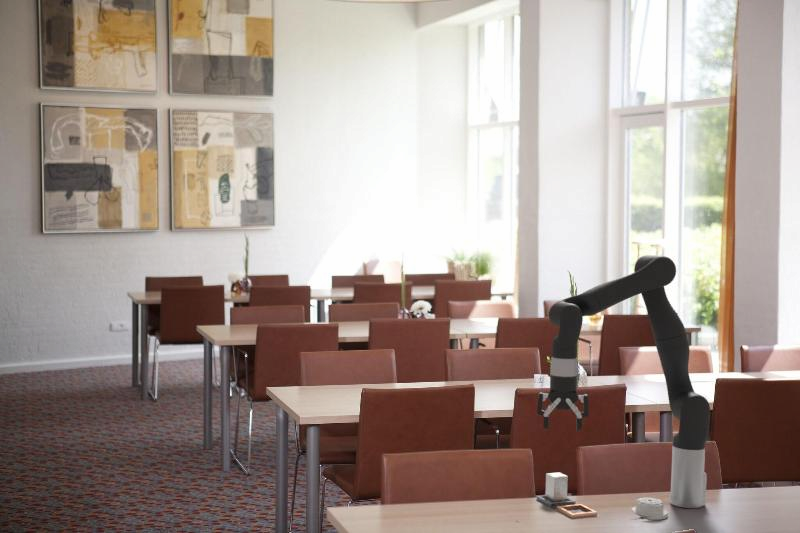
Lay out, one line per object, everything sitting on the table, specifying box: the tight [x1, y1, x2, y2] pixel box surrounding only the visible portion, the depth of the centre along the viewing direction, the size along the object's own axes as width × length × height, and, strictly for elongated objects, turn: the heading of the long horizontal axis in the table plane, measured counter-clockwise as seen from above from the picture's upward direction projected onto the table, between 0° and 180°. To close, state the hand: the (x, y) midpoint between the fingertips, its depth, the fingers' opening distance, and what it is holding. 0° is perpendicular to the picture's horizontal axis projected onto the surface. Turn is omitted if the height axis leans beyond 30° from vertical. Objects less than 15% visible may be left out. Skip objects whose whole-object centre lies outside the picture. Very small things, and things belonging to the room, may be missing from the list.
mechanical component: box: [631, 496, 669, 521], centre depth 289 cm, size 10×4×10 cm
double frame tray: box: [535, 494, 601, 521], centre depth 291 cm, size 9×20×2 cm, turn 23°
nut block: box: [544, 471, 569, 503], centre depth 296 cm, size 4×4×8 cm
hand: (562, 430), depth 288 cm, fingers open, 8 cm apart
